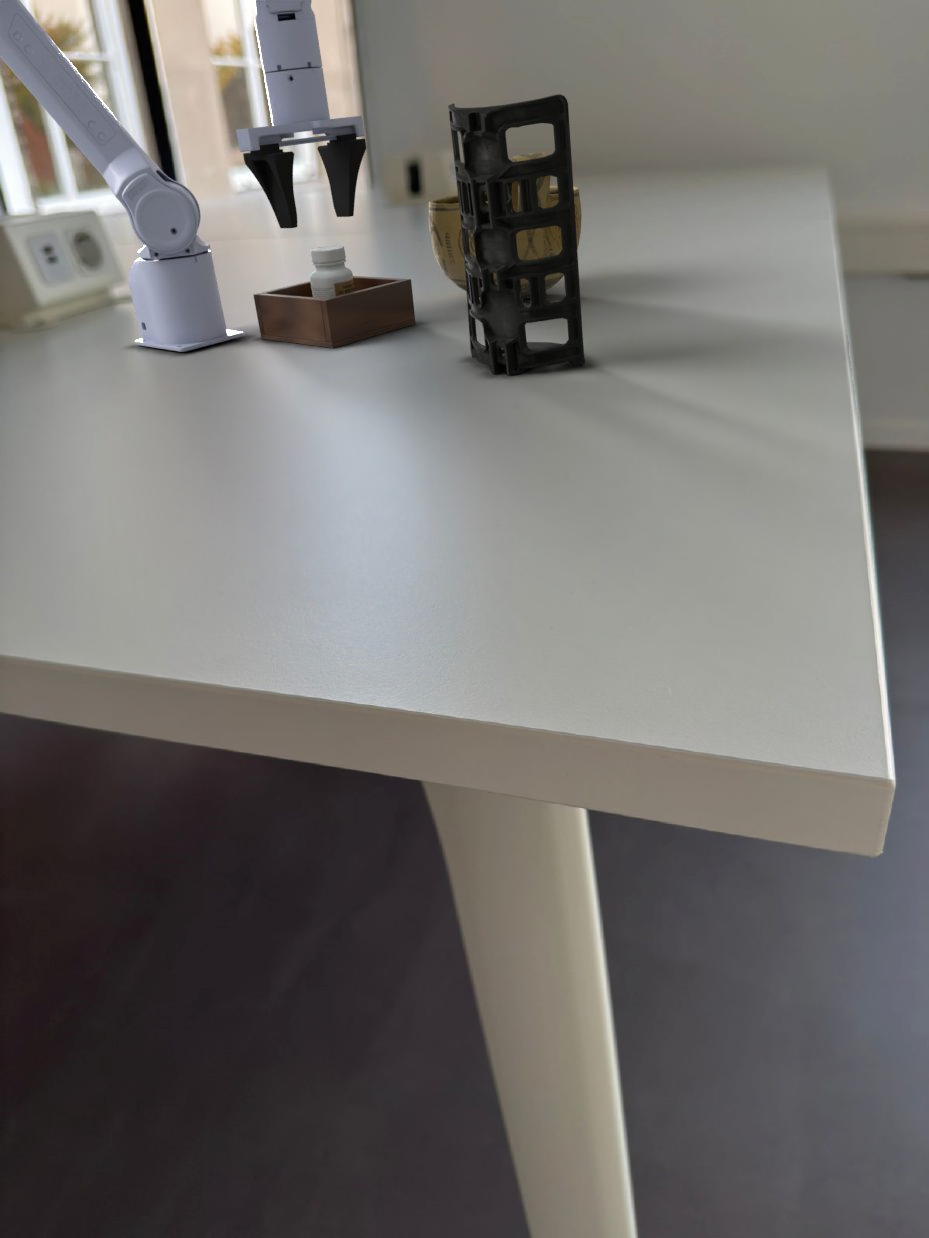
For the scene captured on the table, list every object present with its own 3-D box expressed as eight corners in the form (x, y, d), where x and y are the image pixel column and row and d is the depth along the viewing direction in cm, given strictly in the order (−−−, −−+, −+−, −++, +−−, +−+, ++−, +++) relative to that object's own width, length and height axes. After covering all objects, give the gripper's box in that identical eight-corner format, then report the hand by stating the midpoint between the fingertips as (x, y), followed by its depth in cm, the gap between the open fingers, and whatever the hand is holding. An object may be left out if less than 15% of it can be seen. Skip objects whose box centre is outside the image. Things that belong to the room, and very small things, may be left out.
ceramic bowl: (613, 302, 100) (612, 145, 93) (459, 323, 97) (445, 163, 90) (550, 275, 119) (545, 143, 112) (419, 291, 117) (405, 157, 110)
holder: (602, 350, 80) (586, 85, 69) (573, 382, 75) (551, 100, 64) (484, 350, 85) (452, 101, 74) (449, 380, 79) (408, 116, 68)
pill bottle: (352, 330, 96) (341, 250, 93) (311, 331, 97) (299, 252, 94) (364, 321, 100) (354, 243, 96) (325, 322, 101) (314, 246, 97)
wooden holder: (260, 338, 99) (252, 294, 97) (343, 316, 106) (337, 274, 104) (332, 348, 92) (325, 300, 90) (415, 323, 99) (411, 279, 97)
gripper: (257, 71, 84) (286, 233, 91) (375, 63, 93) (394, 211, 99) (212, 79, 88) (243, 233, 95) (329, 70, 97) (350, 212, 104)
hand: (317, 222), depth 98 cm, fingers open, 7 cm apart
